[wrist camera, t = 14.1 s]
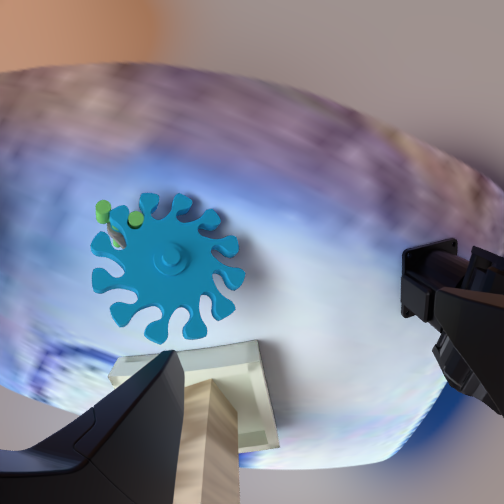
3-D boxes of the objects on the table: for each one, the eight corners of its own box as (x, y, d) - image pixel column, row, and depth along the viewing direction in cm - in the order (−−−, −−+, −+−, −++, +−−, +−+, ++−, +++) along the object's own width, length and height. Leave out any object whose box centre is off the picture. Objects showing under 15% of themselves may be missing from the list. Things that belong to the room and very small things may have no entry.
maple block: (211, 378, 23) (200, 513, 10) (237, 412, 24) (241, 533, 11) (164, 392, 23) (134, 513, 10) (193, 424, 24) (180, 536, 12)
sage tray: (257, 339, 23) (259, 360, 20) (276, 426, 26) (279, 447, 23) (118, 357, 23) (107, 376, 20) (162, 437, 26) (158, 456, 23)
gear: (275, 257, 20) (185, 379, 14) (240, 283, 24) (168, 378, 19) (158, 154, 19) (44, 241, 13) (146, 199, 24) (60, 275, 18)
